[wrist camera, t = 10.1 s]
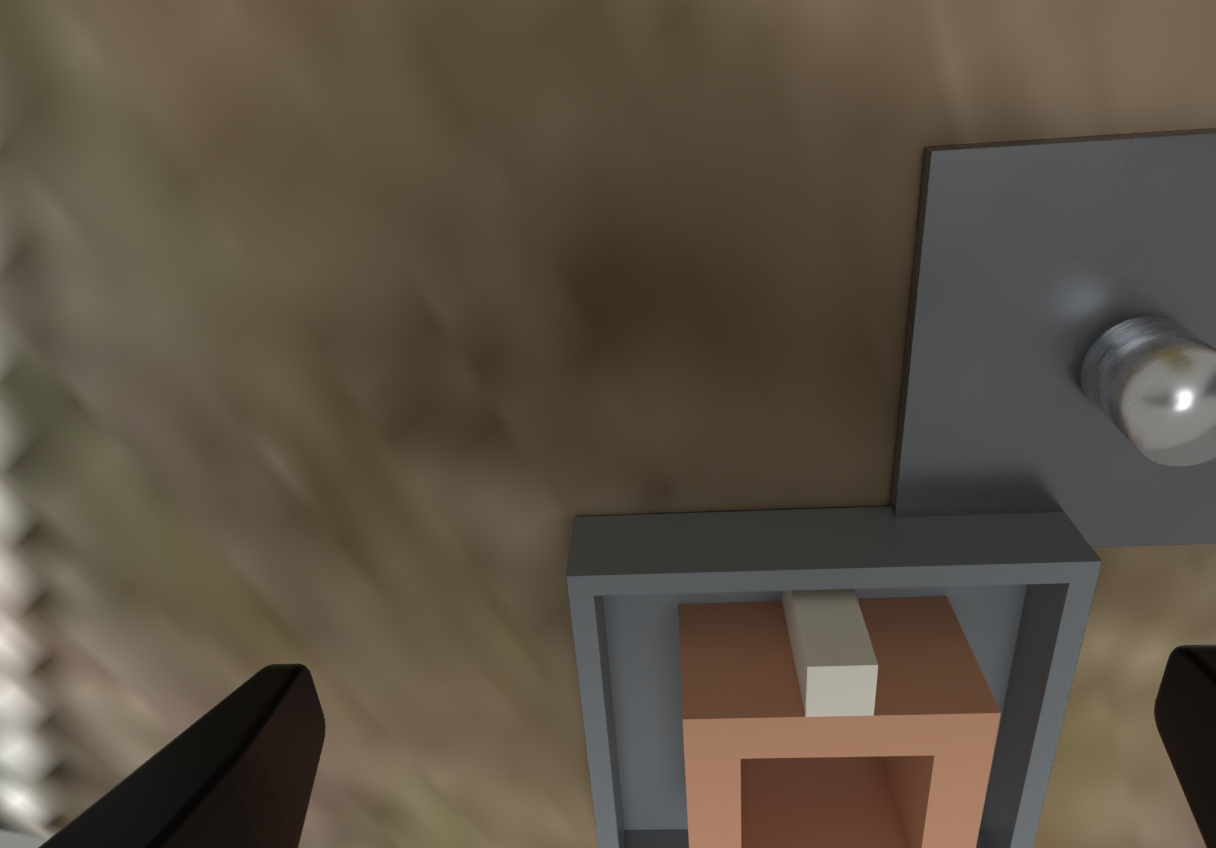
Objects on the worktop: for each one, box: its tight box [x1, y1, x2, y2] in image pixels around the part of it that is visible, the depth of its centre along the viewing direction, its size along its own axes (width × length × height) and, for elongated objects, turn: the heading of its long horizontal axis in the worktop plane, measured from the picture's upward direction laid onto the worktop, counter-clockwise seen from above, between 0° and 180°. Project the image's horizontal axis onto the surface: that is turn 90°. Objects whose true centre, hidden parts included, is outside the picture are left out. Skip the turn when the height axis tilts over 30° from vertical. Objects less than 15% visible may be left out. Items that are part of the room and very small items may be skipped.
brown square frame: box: [678, 589, 1001, 848], centre depth 22 cm, size 8×7×4 cm
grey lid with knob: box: [890, 128, 1216, 547], centre depth 19 cm, size 10×10×3 cm
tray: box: [566, 506, 1102, 848], centre depth 24 cm, size 12×12×2 cm
